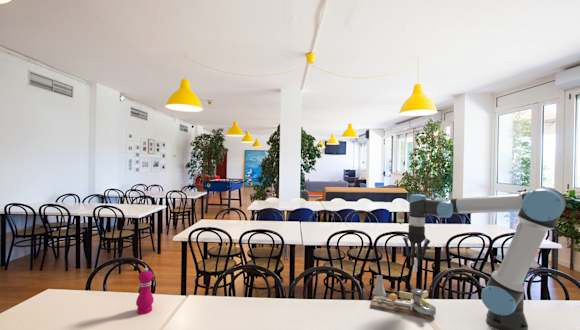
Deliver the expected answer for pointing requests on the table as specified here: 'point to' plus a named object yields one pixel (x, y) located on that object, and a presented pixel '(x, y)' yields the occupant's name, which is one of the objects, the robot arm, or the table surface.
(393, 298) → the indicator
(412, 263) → the robot arm
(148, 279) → the pepper mill
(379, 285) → the flask
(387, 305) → the board
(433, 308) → the cam capstan
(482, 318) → the table surface
